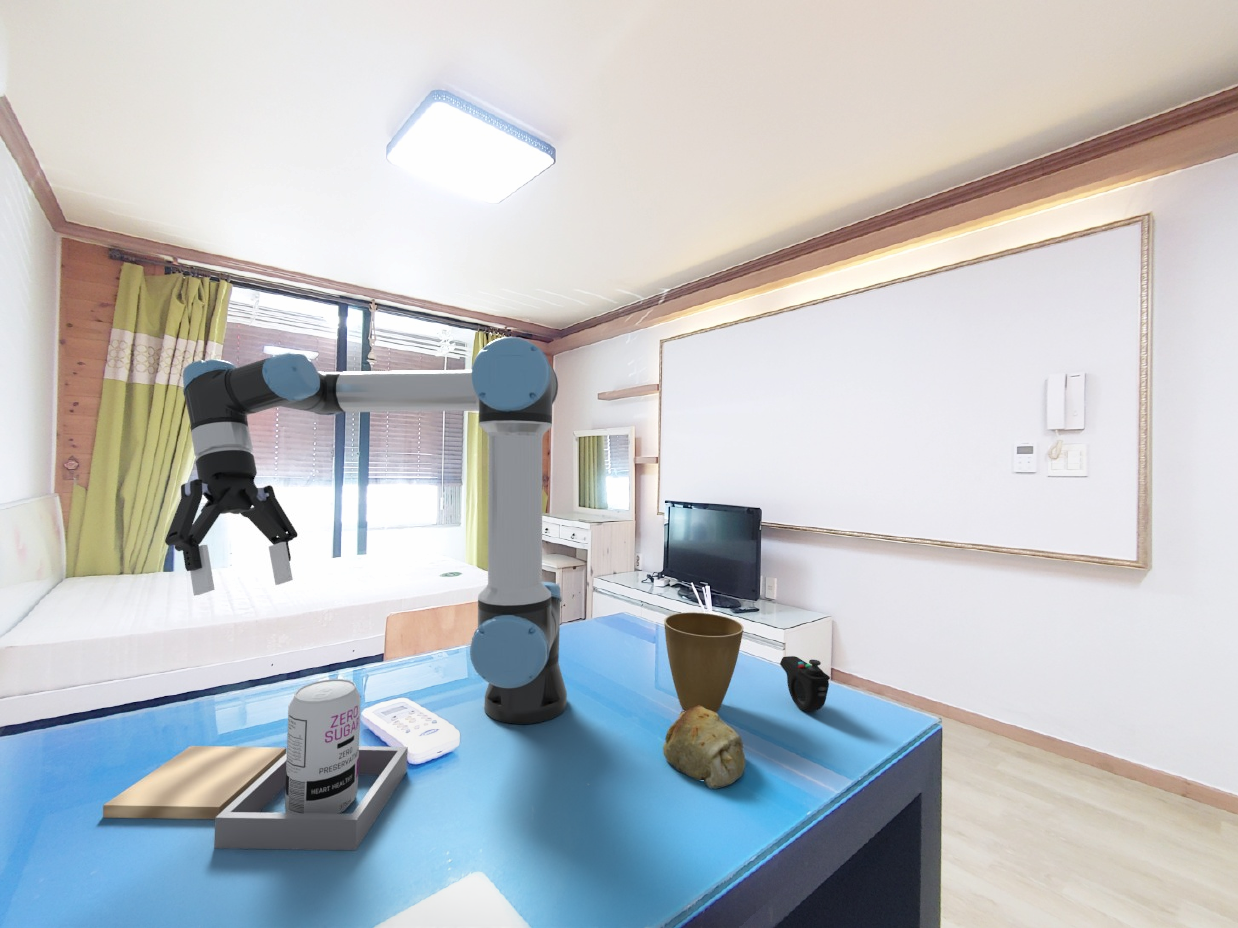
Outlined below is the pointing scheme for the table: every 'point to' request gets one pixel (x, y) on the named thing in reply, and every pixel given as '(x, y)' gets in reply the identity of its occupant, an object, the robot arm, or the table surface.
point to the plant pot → (702, 656)
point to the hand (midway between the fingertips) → (247, 587)
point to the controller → (806, 682)
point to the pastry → (705, 748)
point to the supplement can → (323, 747)
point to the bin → (309, 830)
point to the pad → (194, 783)
